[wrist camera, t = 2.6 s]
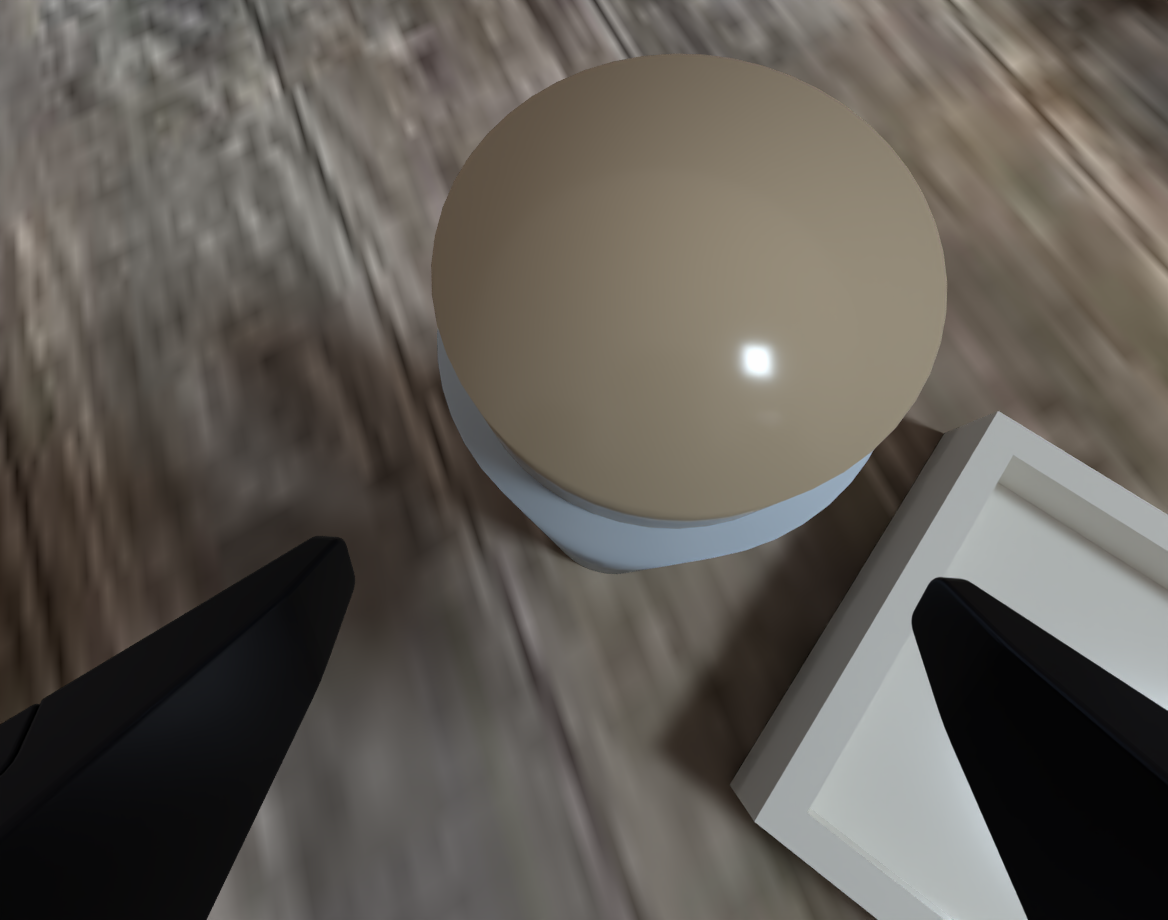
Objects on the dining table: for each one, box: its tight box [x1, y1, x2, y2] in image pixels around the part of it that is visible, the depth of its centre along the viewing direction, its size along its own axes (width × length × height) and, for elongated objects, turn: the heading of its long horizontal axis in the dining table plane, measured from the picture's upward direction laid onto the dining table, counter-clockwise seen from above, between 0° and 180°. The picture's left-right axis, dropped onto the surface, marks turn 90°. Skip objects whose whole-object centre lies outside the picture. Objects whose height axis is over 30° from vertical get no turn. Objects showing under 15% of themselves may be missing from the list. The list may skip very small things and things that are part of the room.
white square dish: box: [730, 411, 1168, 920], centre depth 15 cm, size 14×14×2 cm
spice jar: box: [431, 54, 947, 574], centre depth 11 cm, size 5×5×14 cm
